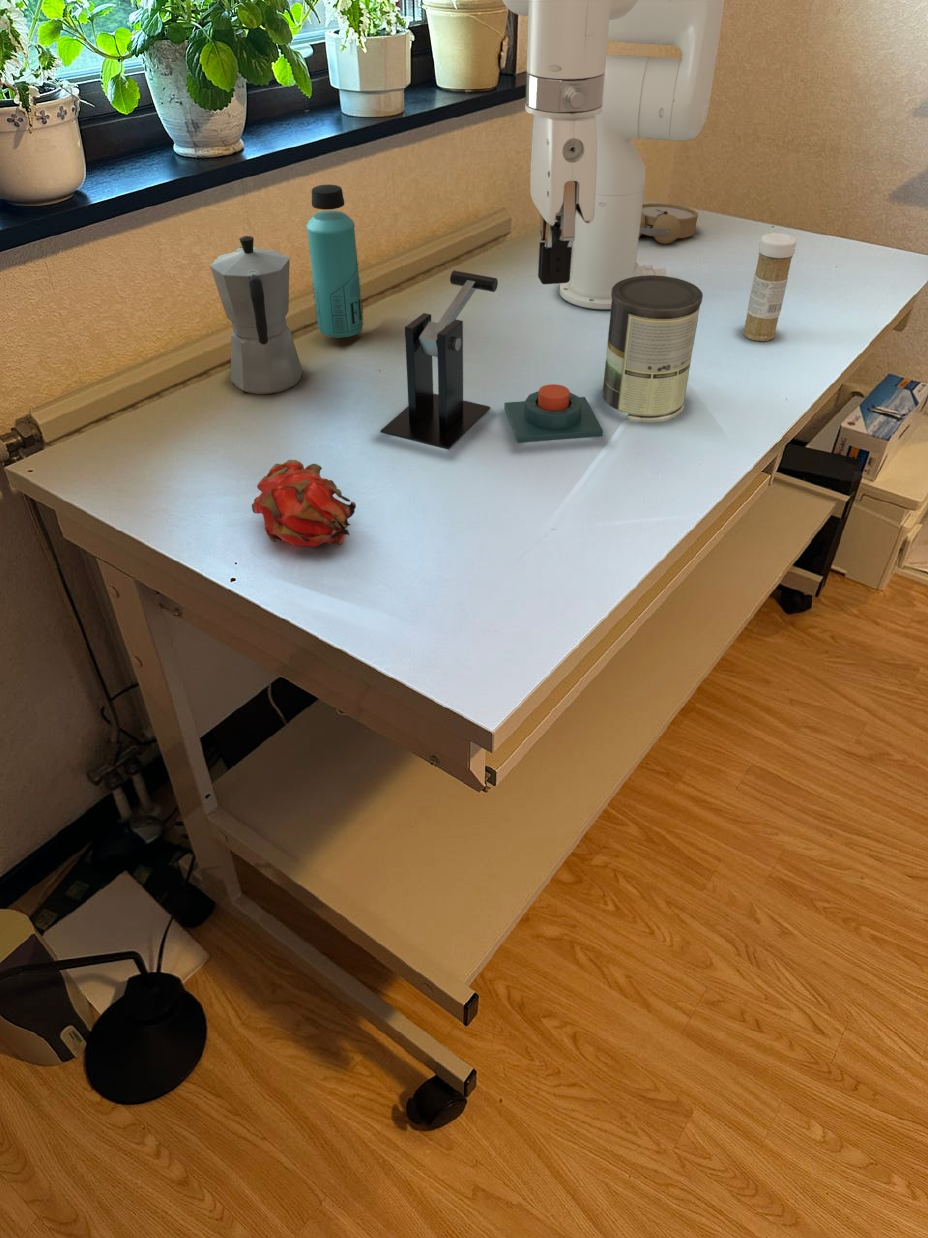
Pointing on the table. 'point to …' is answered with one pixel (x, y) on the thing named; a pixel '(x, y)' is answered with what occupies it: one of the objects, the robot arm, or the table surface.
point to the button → (553, 397)
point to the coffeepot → (258, 318)
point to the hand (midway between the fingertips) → (553, 280)
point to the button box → (552, 420)
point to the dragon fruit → (302, 506)
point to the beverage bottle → (334, 265)
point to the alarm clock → (667, 222)
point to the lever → (454, 307)
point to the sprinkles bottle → (769, 286)
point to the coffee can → (650, 346)
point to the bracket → (428, 412)
